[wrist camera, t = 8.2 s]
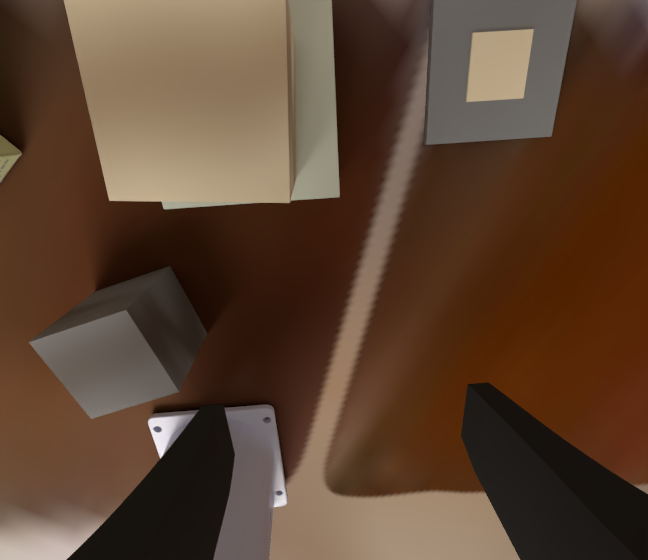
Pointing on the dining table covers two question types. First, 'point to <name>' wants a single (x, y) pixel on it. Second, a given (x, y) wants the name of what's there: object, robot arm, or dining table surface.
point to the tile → (495, 68)
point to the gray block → (124, 343)
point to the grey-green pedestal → (309, 105)
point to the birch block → (190, 97)
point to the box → (7, 157)
